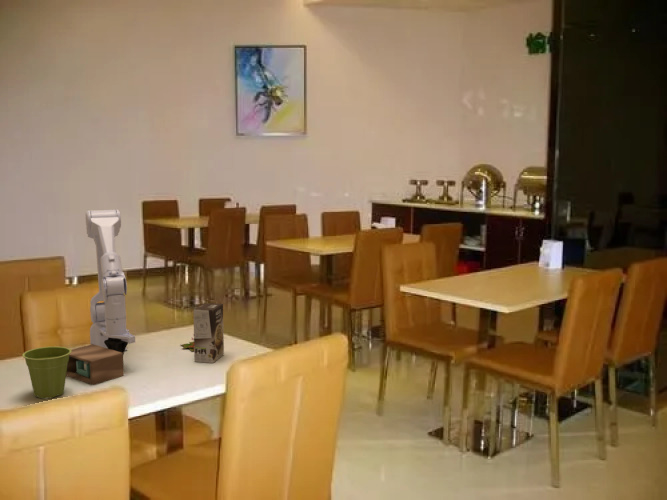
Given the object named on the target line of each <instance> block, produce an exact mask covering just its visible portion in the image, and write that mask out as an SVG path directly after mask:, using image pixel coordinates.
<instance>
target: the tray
mask: <svg viewBox="0 0 667 500" xmlns="http://www.w3.org/2000/svg"><path fill="white" fill-rule="evenodd" d="M76 365H77V372H76V374H79V375H82V376H85V377H88V378H90V363H88V362H85V361H82V360H79V361H76Z"/></svg>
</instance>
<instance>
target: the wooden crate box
mask: <svg viewBox="0 0 667 500" xmlns="http://www.w3.org/2000/svg"><path fill="white" fill-rule="evenodd" d="M71 351H72V352H71V353H70V354H69V361H68V363H67V371H66V377H69V378H72V379H75V380H77V381H80V382H82V383H87V384H89V385H92V386H96V385H99V384H101V383H104V382H108V381H110V380H114V379H117V378H120V377H121V378H122V377H123V376H125V375H124V374H125V370H124V355H123V353H122V352H118V351H115V350H111V349H108V348H104V347H101V346H97V345H94V344H91V343H90V344H88V345H84V346H80V347H77V348H72V349H71ZM79 360H82V361H85V362H88V363H90V378H88V377H85V376H82V375H79V374H77V365H76V361H79Z"/></svg>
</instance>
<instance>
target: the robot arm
mask: <svg viewBox="0 0 667 500" xmlns="http://www.w3.org/2000/svg"><path fill="white" fill-rule="evenodd" d="M121 226H122V215H121V211H120V210H119V209H118V208H115V209H105V210H104V209H101V210H99V209H98V210H97V209H96V210H95V209H94V210H89V209H87V210H86V211H85V227H86V229H85V230H86V235H87V238H90V239H93V242H94V244H95V253H96V267H97V268H96V269H97V279H98V281H97V282H98V291H97V293H96V294H95V295H94V296H92V297H91V299H90V301H89V304H90V306H89V312H90V320H91V323H92V324H91V326H90V329H89V340H90V342H89V343H90V345H91V344H94V345H97V346H101V347H104V348H108V349H111V350H115V351H118V352H122V353H123V356H124V355H125V351H128V348H127V346H128V344H129V345H131V344H134V343H136V335H134V334H132V333H130V329H127V313H126V296H127V293H128V284H127V278H126V276H125V272H124V271H123V267H122V266H123V265H122V260H121V256H120V255H119V254H118V253H116V239H115V237H118V235H119V233H120V230H121V228H122V227H121Z"/></svg>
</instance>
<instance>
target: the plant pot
mask: <svg viewBox="0 0 667 500" xmlns="http://www.w3.org/2000/svg"><path fill="white" fill-rule="evenodd" d="M71 350H72V349H71V348H68V347H65V346H41V347H37V348H32V349H29V350H26V351H24V352H23V353H22V357H23V359H25V364H26V366H27V369H28V374H29V377H30V378H29V379H30V382H31V387H32V390H33V394H34V397H37V398H39V399H53V398H55V397H56V396H61V395H63V394H64V393H65V388H66V387H65V386H66V377H67V376H66V371H67V363H68V361H69V354H70V353H71V352H72V351H71Z"/></svg>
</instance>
